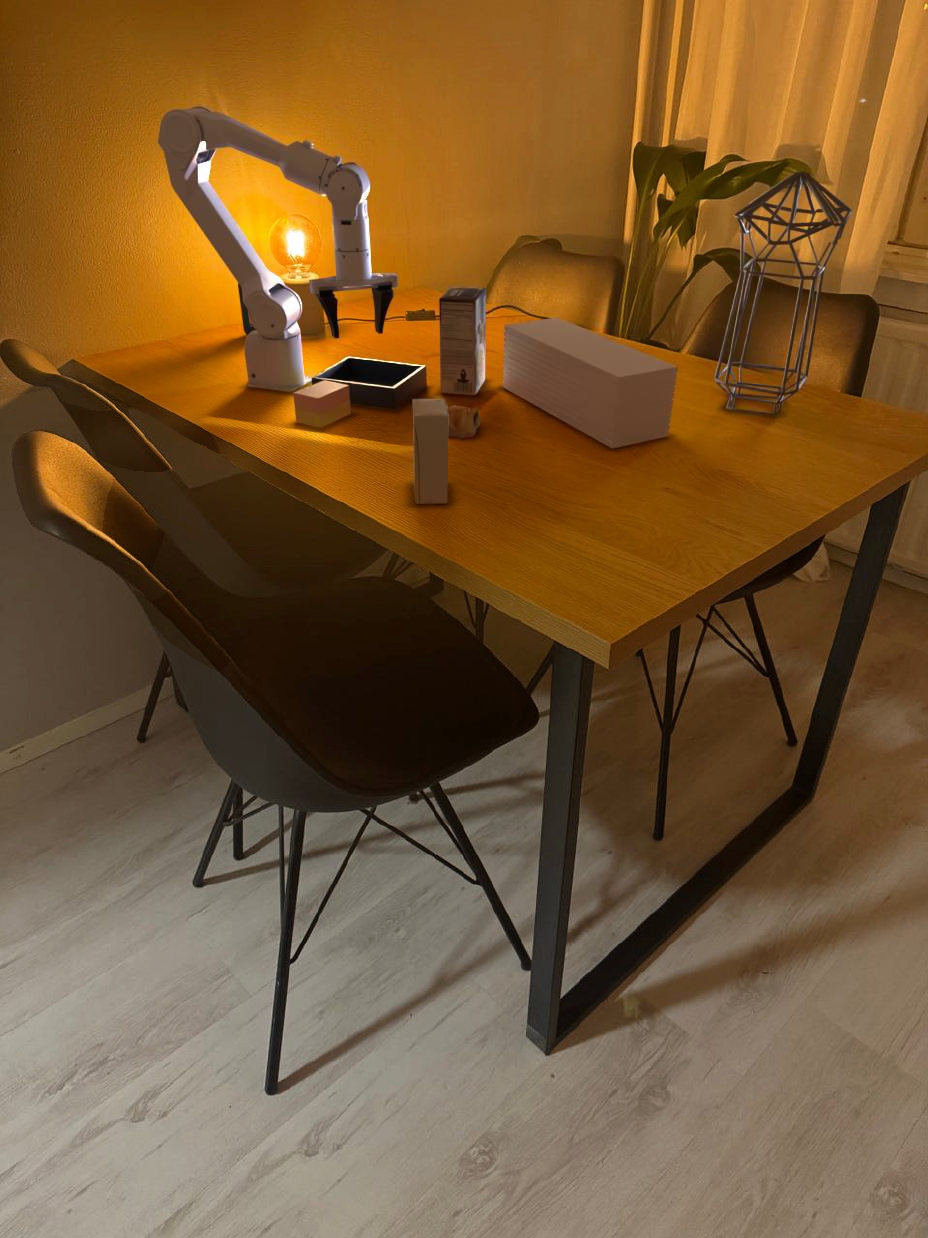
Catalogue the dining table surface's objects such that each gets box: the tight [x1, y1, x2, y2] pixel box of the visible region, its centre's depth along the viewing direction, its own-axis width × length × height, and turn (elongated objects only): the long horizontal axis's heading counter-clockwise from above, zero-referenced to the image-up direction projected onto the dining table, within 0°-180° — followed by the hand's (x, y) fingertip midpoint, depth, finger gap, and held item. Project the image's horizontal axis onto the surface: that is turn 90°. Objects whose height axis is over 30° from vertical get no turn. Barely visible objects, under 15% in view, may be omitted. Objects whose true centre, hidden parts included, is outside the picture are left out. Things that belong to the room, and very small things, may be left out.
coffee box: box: [438, 286, 487, 396], centre depth 149 cm, size 9×6×16 cm
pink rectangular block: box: [292, 380, 352, 429], centre depth 138 cm, size 5×8×5 cm, turn 148°
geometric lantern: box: [713, 170, 853, 416], centre depth 136 cm, size 16×16×35 cm
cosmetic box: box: [412, 397, 449, 505], centre depth 112 cm, size 6×4×12 cm
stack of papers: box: [502, 317, 679, 449], centre depth 140 cm, size 32×11×11 cm, turn 28°
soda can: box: [237, 282, 257, 336], centre depth 177 cm, size 7×7×12 cm
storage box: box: [311, 356, 428, 411], centre depth 149 cm, size 15×13×4 cm
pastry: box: [447, 405, 482, 439], centre depth 135 cm, size 9×7×4 cm
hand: (357, 334), depth 148 cm, fingers open, 7 cm apart
